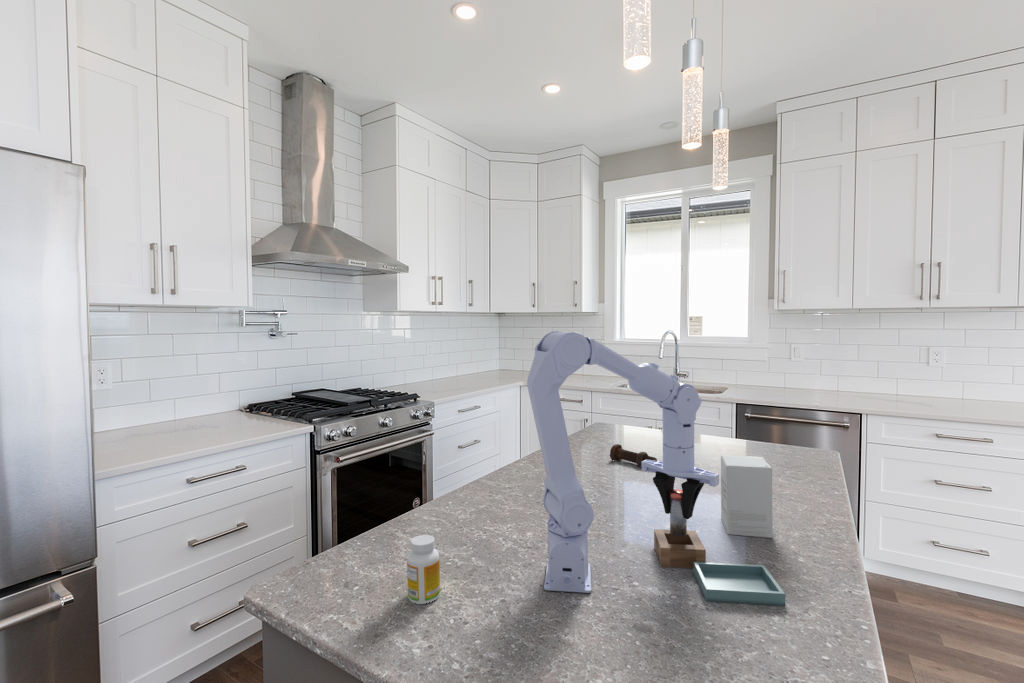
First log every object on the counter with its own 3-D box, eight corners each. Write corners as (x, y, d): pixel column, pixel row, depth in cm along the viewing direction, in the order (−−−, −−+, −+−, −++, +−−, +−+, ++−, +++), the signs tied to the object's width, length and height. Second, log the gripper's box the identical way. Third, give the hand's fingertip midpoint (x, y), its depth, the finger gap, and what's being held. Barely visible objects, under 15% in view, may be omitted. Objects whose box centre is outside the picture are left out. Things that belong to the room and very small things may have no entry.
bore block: (705, 569, 88) (705, 549, 88) (660, 566, 90) (660, 547, 89) (695, 548, 96) (695, 530, 96) (654, 546, 98) (654, 529, 97)
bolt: (653, 475, 148) (612, 464, 159) (661, 464, 150) (620, 453, 161) (649, 461, 145) (607, 450, 156) (656, 450, 148) (615, 440, 159)
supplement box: (763, 521, 109) (763, 456, 108) (773, 539, 100) (774, 467, 99) (720, 517, 111) (720, 453, 110) (726, 534, 102) (726, 465, 102)
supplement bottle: (442, 586, 84) (440, 532, 84) (438, 604, 79) (436, 546, 78) (411, 587, 84) (409, 533, 84) (405, 606, 79) (403, 547, 78)
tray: (785, 606, 77) (785, 593, 77) (706, 601, 78) (706, 589, 78) (763, 576, 86) (763, 565, 86) (693, 572, 87) (693, 561, 87)
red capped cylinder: (689, 537, 90) (689, 494, 91) (670, 536, 91) (670, 493, 91) (685, 531, 94) (685, 489, 94) (667, 530, 94) (667, 488, 94)
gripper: (725, 446, 90) (725, 518, 91) (652, 435, 100) (653, 499, 101) (710, 454, 85) (710, 530, 85) (636, 441, 95) (636, 509, 95)
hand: (678, 514), depth 93 cm, fingers closed on red capped cylinder, 3 cm apart
